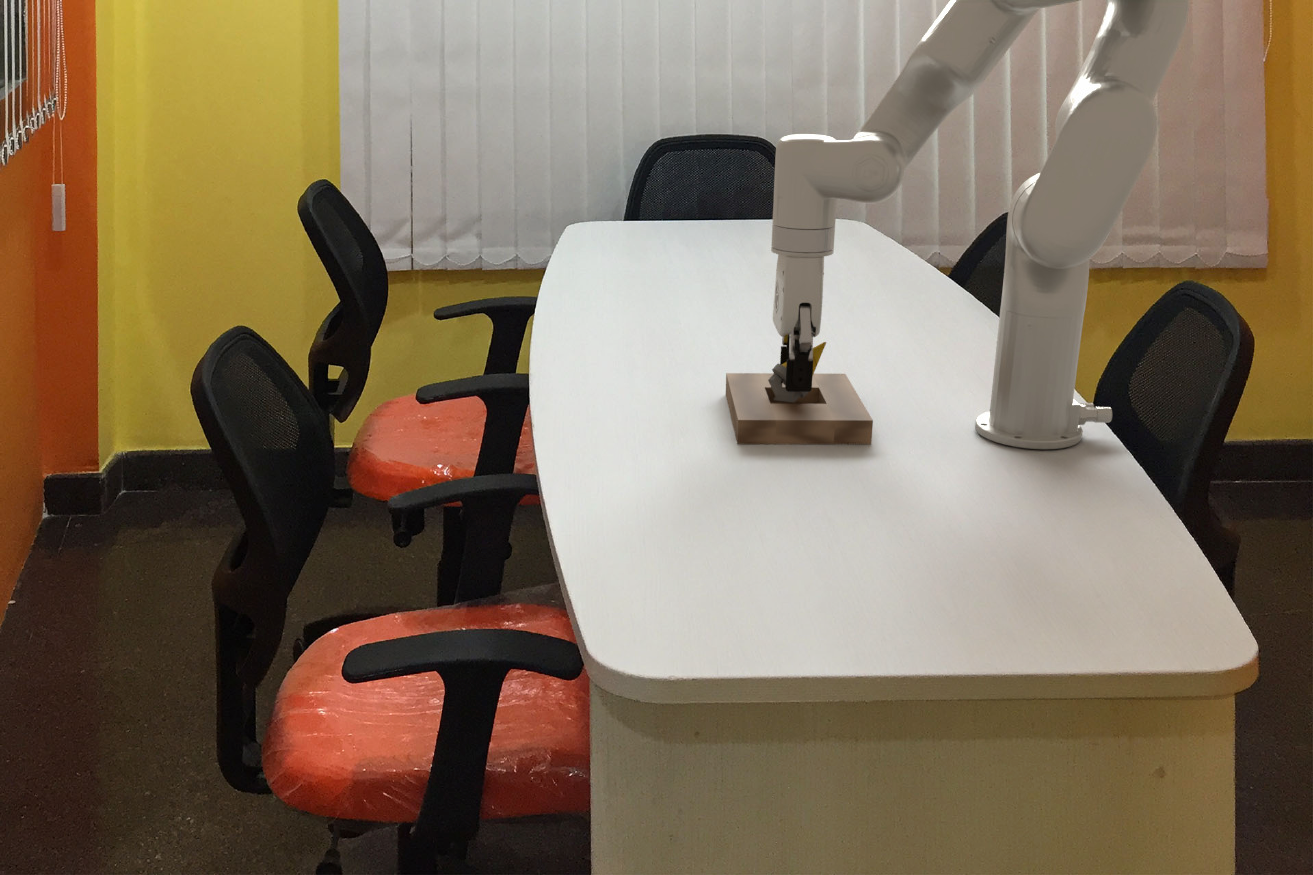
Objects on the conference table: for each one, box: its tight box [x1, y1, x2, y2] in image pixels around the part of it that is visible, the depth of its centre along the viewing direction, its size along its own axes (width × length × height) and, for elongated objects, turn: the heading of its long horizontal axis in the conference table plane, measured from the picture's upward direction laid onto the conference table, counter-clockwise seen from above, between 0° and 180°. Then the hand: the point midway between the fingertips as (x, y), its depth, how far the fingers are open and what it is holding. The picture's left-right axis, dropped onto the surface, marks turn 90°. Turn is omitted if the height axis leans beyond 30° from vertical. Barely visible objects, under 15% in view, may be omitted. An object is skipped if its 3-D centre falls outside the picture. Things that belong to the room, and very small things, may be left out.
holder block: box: [725, 372, 874, 445], centre depth 152 cm, size 16×20×3 cm
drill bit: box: [768, 341, 827, 403], centre depth 151 cm, size 5×5×10 cm
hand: (795, 382), depth 151 cm, fingers closed on drill bit, 5 cm apart
